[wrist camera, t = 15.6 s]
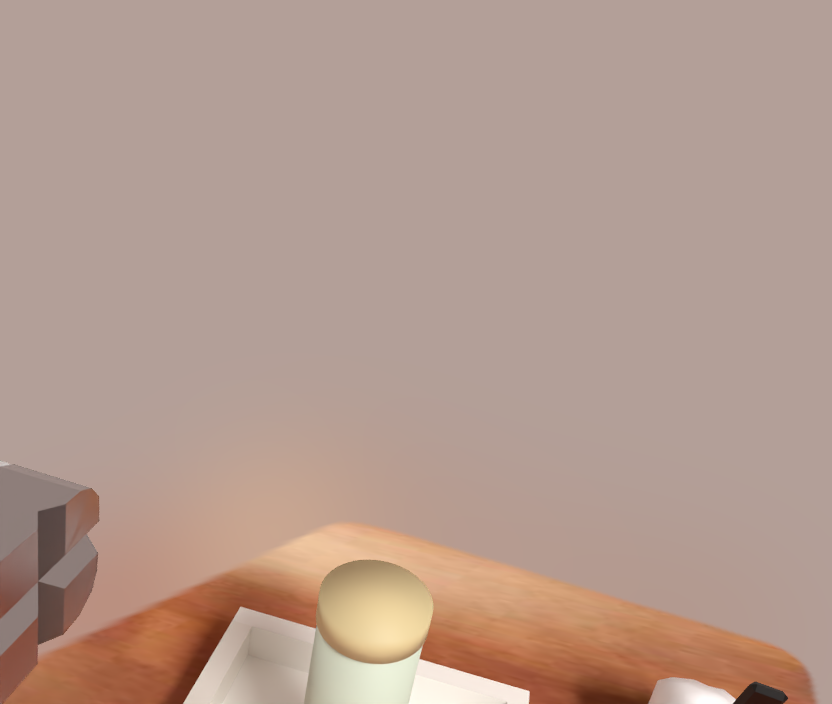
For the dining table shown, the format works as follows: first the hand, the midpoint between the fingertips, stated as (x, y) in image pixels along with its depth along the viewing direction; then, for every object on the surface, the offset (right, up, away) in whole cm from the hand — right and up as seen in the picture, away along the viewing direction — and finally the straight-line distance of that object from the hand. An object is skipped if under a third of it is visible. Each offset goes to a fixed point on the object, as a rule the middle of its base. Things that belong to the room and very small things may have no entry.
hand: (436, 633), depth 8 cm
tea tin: (-4, -19, +29) cm, 35 cm away
